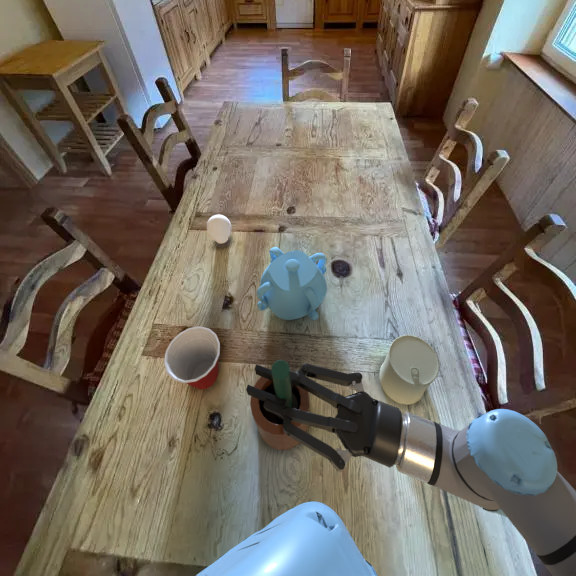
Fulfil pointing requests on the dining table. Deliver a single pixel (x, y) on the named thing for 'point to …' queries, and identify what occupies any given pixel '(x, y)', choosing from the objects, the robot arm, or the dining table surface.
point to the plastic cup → (193, 357)
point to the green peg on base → (283, 385)
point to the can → (408, 369)
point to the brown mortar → (266, 420)
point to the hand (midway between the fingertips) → (252, 379)
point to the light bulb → (219, 230)
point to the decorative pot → (293, 284)
